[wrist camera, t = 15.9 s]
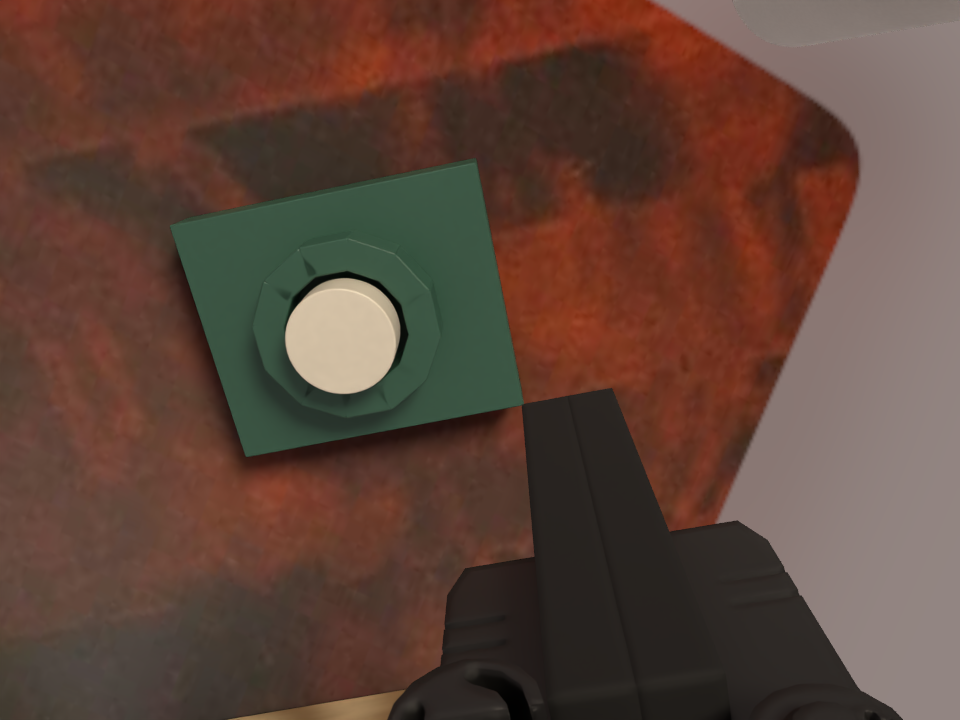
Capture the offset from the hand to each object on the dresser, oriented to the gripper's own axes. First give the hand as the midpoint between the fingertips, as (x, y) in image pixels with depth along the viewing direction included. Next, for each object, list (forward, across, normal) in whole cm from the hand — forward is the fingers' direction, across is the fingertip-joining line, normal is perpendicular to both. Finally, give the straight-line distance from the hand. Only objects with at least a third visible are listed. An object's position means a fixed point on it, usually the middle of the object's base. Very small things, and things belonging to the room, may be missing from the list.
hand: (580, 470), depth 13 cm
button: (+16, -7, -1) cm, 18 cm away
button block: (+20, -8, -1) cm, 21 cm away
